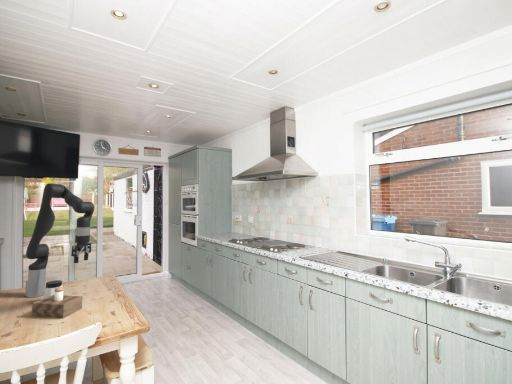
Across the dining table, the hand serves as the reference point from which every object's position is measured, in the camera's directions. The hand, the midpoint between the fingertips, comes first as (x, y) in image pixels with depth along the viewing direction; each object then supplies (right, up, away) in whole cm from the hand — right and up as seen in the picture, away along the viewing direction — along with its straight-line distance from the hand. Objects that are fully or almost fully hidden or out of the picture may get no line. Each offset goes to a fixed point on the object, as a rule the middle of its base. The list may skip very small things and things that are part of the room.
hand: (81, 261), depth 164 cm
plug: (-6, -25, -12) cm, 28 cm away
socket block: (-6, -25, -12) cm, 28 cm away
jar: (-20, -26, +4) cm, 33 cm away
